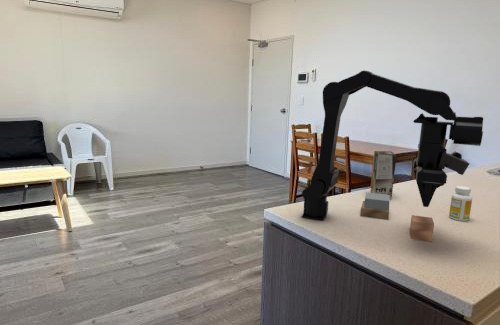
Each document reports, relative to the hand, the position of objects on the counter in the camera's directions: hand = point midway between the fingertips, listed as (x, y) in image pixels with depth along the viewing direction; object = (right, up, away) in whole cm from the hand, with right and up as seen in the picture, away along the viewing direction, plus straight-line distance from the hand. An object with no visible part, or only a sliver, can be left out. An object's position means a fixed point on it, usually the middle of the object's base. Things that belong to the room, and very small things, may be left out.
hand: (424, 201), depth 92 cm
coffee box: (+3, -2, +39) cm, 39 cm away
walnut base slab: (-6, -6, +19) cm, 21 cm away
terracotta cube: (0, -10, +2) cm, 10 cm away
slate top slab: (-6, -3, +19) cm, 20 cm away
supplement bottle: (+19, -7, +17) cm, 26 cm away
